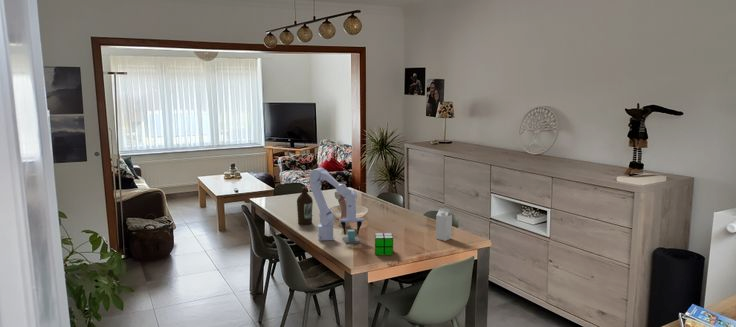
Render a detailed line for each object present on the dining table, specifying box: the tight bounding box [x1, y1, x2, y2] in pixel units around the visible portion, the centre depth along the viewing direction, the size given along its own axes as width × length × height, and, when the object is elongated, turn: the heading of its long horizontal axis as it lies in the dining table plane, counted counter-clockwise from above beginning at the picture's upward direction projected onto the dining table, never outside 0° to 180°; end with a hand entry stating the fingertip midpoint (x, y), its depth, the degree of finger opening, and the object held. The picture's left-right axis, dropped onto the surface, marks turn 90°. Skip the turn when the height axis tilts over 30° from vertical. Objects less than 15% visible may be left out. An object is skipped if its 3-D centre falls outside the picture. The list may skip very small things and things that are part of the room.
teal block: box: [347, 229, 356, 240], centre depth 317 cm, size 4×4×6 cm
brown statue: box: [334, 181, 351, 228], centre depth 350 cm, size 11×7×30 cm
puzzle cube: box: [374, 232, 394, 256], centre depth 297 cm, size 10×10×10 cm
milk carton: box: [435, 207, 453, 242], centre depth 322 cm, size 7×7×19 cm
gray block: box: [341, 235, 361, 245], centre depth 318 cm, size 9×9×2 cm
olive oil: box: [296, 186, 314, 226], centre depth 356 cm, size 11×11×25 cm
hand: (351, 233), depth 317 cm, fingers open, 7 cm apart
